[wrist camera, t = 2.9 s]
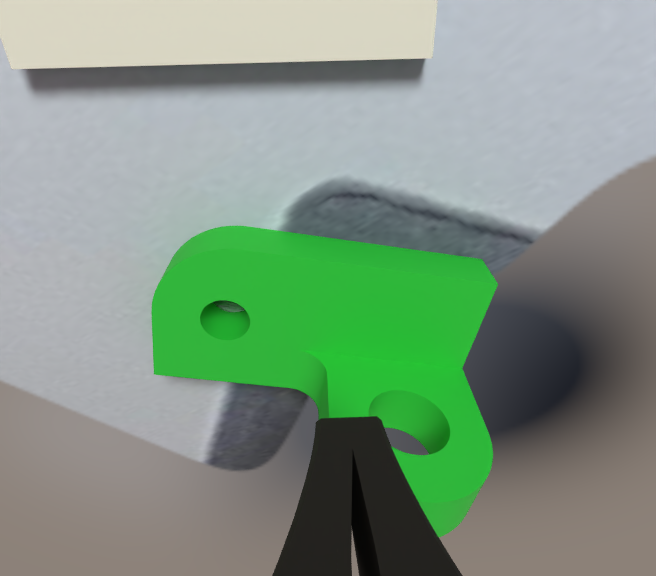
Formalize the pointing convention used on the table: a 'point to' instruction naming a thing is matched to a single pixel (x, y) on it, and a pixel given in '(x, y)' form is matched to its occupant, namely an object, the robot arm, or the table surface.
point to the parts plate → (212, 31)
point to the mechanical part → (340, 340)
